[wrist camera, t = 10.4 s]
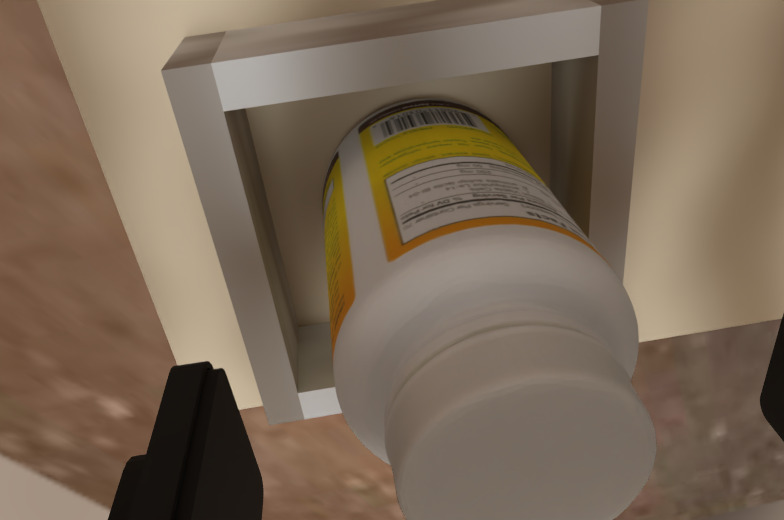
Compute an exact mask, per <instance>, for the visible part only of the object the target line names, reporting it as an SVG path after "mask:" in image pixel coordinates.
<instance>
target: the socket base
mask: <svg viewBox="0 0 784 520" xmlns="http://www.w3.org/2000/svg"><path fill="white" fill-rule="evenodd" d="M37 2H38V4H39V7H40V10H41V12H42V15H43V17H44V20H45V23H46V25H47V28H48V30H49V33H50V36H51V38H52V41H53V43H54V46H55V49H56V51H57V54H58V56H59V59H60V62H61V64H62V67H63V69H64V72H65V75H66V77H67V80H68V82H69V85H70V87H71V90H72V93H73V95H74V98H75V100H76V103H77V106H78V108H79V111H80V113H81V116H82V119H83V121H84V124H85V126H86V129H87V132H88V134H89V137H90V139H91V142H92V145H93V147H94V150H95V152H96V155H97V157H98V160H99V163H100V165H101V168H102V170H103V173H104V176H105V178H106V181H107V183H108V186H109V189H110V191H111V194H112V196H113V199H114V202H115V204H116V207H117V209H118V212H119V215H120V217H121V220H122V222H123V225H124V228H125V230H126V233H127V235H128V238H129V240H130V243H131V246H132V248H133V251H134V253H135V256H136V259H137V261H138V264H139V266H140V269H141V272H142V274H143V277H144V279H145V282H146V285H147V287H148V290H149V292H150V295H151V298H152V300H153V303H154V305H155V308H156V310H157V313H158V316H159V318H160V321H161V323H162V326H163V329H164V331H165V334H166V336H167V339H168V342H169V344H170V347H171V349H172V352H173V355H174V357H175V360H176V362H177V365H184V364H191V363H198V362H204V361H209V362H210V363H211V364H212V366H213V368H214V369H218V368H223V369H224V370H225V372H226V375H227V378H228V380H229V383H230V386H231V389H232V392H233V395H234V398H235V401H236V404H237V407H238V409H239V410H240V409H246V408H252V407H258V406H264V410H265V413H266V416H267V419H268V423H269V425H274V424H280V423H286V422H291V421H297V420H303V419H309V418H315V417H321V416H327V415H333V414H339V413H342V411H341V408H340V405H339V402H338V399H337V394H336V389H335V382H334V372H333V360H332V344H331V331H330V316H329V298H328V284H327V272H326V254H325V239H324V227H323V212H322V197H323V185H324V179H325V175H326V172H327V169H328V166H329V163H330V161H331V159H332V157H333V155H334V153H335V151H336V150H337V148H338V146H339V145H340V144H341V142H342V141H343V139H344V138H345V137H346V136H347V135H348V134H349V133H350V131H351V130H353V129H354V128H355V127H356V126H357V125H358V124H359V123H360V122H362V121H363V120H364V119H366V118H367V117H369V116H370V115H372V114H373V113H375V112H377V111H379V110H381V109H383V108H385V107H387V106H390V105H393V104H396V103H399V102H403V101H407V100H412V99H421V98H436V99H445V100H451V101H454V102H458V103H461V104H464V105H467V106H469V107H471V108H473V109H475V110H477V111H479V112H481V113H482V114H484V115H485V116H487V117H488V118H489V119H491V120H492V121H493V122H494V123H495V124H497V125H498V126H499V127H500V129H501V130H502V131H503V132H504V133H505V134H506V135H507V136H508V137H509V139H510V140H511V142H512V143H513V144H514V145H515V147H516V148H517V149H518V150H519V152H520V153H521V154H522V156H523V157H524V158H525V159H526V161H527V162H528V163H529V164H530V166H531V167H532V168H533V170H534V171H535V172H536V173H537V175H538V176H539V177H540V178H541V180H542V181H543V182H544V183H545V185H546V186H547V187H548V188H549V189H550V191H551V192H552V193H553V195H554V196H555V197H556V199H557V200H558V201H559V202H560V204H561V205H562V206H563V208H564V209H565V210H566V211H567V213H568V214H569V215H570V217H571V218H572V219H573V220H574V222H575V223H576V224H577V225H578V227H579V228H580V229H581V230H582V232H583V233H584V234H585V235H586V237H587V238H588V239H589V240H590V242H591V243H592V244H593V245H594V246H595V248H596V249H597V250H598V252H599V253H600V254H601V255H602V256H603V258H604V259H605V260H606V261H607V262H608V263H609V265H610V266H611V268H612V269H613V271H614V272H615V274H616V275H617V277H618V278H619V280H620V281H621V283H622V285H623V286H624V288H625V289H626V291H627V293H628V295H629V298H630V300H631V302H632V304H633V308H634V311H635V315H636V318H637V324H638V335H639V342H645V341H651V340H657V339H663V338H669V337H675V336H680V335H686V334H692V333H698V332H704V331H710V330H716V329H722V328H728V327H734V326H740V325H746V324H752V323H758V322H764V321H770V320H776V319H782V317H783V314H784V0H37Z"/></svg>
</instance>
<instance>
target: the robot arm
mask: <svg viewBox="0 0 784 520" xmlns="http://www.w3.org/2000/svg"><path fill="white" fill-rule="evenodd" d="M760 405H761V409H762V412H763V414H764V416H765V418H766V420H767V421H768V422H769V424H770V425H771V426H772V427H773V429H774V430H775V431H776V432H777V434H778V435H779V436H780V438H781V439H782V440H783V441H784V314H783V317H782V321H781V324H780V328H779V332H778V335H777V339H776V342H775V346H774V350H773V353H772V357H771V360H770V364H769V367H768V371H767V375H766V378H765V382H764V385H763V389H762V393H761V397H760ZM262 508H263V482H262V477H261V473H260V470H259V467H258V464H257V462H256V459H255V456H254V453H253V450H252V447H251V444H250V441H249V438H248V435H247V433H246V430H245V427H244V424H243V421H242V418H241V415H240V412H239V409H238V407H237V404H236V401H235V398H234V395H233V392H232V389H231V386H230V383H229V380H228V378H227V375H226V372H225V370H224V369H223V368H218V369H214V368H213V366H212V364H211V363H210V362H209V361H204V362H198V363H191V364H184V365H178V366H173V367H172V368H171V370H170V373H169V376H168V379H167V383H166V386H165V390H164V394H163V397H162V401H161V404H160V408H159V411H158V415H157V418H156V422H155V425H154V429H153V432H152V436H151V439H150V443H149V447H148V450H147V454H145V455H138V456H133V457H131V458H130V459H129V461H128V462H127V463H126V466H125V468H124V470H123V473H122V476H121V479H120V482H119V486H118V489H117V492H116V495H115V498H114V502H113V505H112V508H111V511H110V514H109V518H108V520H262Z"/></svg>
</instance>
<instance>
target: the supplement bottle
mask: <svg viewBox="0 0 784 520" xmlns="http://www.w3.org/2000/svg"><path fill="white" fill-rule="evenodd" d="M322 212H323V227H324V239H325V254H326V272H327V284H328V298H329V316H330V331H331V344H332V360H333V372H334V382H335V389H336V394H337V399H338V402H339V405H340V408H341V411H342V413H343V416H344V418H345V420H346V422H347V424H348V425H349V427H350V428H351V430H352V431H353V433H354V434H355V435H356V437H357V438H358V439H359V440H360V441H361V443H362V444H363V445H364V446H365V447H366V448H367V449H369V450H370V451H371V452H372V453H373V454H374V455H376V456H377V457H379V458H380V459H381V460H383V461H384V462H385V463H387V464H389V465H391V467H392V471H393V477H394V482H395V488H396V493H397V499H398V503H399V505H400V508H401V510H402V512H403V514H404V516H405V518H406V519H407V520H613V519H614V518H616V517H617V516H618V515H619V514H621V513H622V512H623V511H624V510H625V509H626V508H627V507H628V506H629V505H630V504H631V503H632V501H633V500H634V499H635V498H636V497H637V495H638V494H639V493H640V491H641V490H642V489H643V487H644V485H645V484H646V482H647V480H648V478H649V476H650V474H651V471H652V468H653V465H654V462H655V457H656V434H655V429H654V425H653V423H652V420H651V418H650V415H649V413H648V411H647V409H646V408H645V406H644V404H643V403H642V401H641V399H640V398H639V396H638V394H637V393H636V391H635V389H634V388H633V386H632V384H631V379H632V376H633V373H634V370H635V366H636V362H637V355H638V345H639V335H638V324H637V318H636V315H635V311H634V308H633V304H632V302H631V300H630V298H629V295H628V293H627V291H626V289H625V288H624V286H623V285H622V283H621V281H620V280H619V278H618V277H617V275H616V274H615V272H614V271H613V269H612V268H611V266H610V265H609V263H608V262H607V261H606V260H605V259H604V258H603V256H602V255H601V254H600V253H599V252H598V250H597V249H596V248H595V246H594V245H593V244H592V243H591V242H590V240H589V239H588V238H587V237H586V235H585V234H584V233H583V232H582V230H581V229H580V228H579V227H578V225H577V224H576V223H575V222H574V220H573V219H572V218H571V217H570V215H569V214H568V213H567V211H566V210H565V209H564V208H563V206H562V205H561V204H560V202H559V201H558V200H557V199H556V197H555V196H554V195H553V193H552V192H551V191H550V189H549V188H548V187H547V186H546V185H545V183H544V182H543V181H542V180H541V178H540V177H539V176H538V175H537V173H536V172H535V171H534V170H533V168H532V167H531V166H530V164H529V163H528V162H527V161H526V159H525V158H524V157H523V156H522V154H521V153H520V152H519V150H518V149H517V148H516V147H515V145H514V144H513V143H512V142H511V140H510V139H509V137H508V136H507V135H506V134H505V133H504V132H503V131H502V130H501V129H500V127H499V126H498V125H497V124H495V123H494V122H493V121H492V120H491V119H489V118H488V117H487V116H485V115H484V114H482V113H481V112H479V111H477V110H475V109H473V108H471V107H469V106H467V105H464V104H461V103H458V102H454V101H451V100H445V99H436V98H421V99H412V100H407V101H403V102H399V103H396V104H393V105H390V106H387V107H385V108H383V109H381V110H379V111H377V112H375V113H373V114H372V115H370V116H369V117H367V118H366V119H364V120H363V121H362V122H360V123H359V124H358V125H357V126H356V127H355V128H354V129H353V130H351V131H350V133H349V134H348V135H347V136H346V137H345V138H344V139H343V141H342V142H341V144H340V145H339V146H338V148H337V150H336V151H335V153H334V155H333V157H332V159H331V161H330V163H329V166H328V169H327V172H326V175H325V179H324V185H323V197H322Z"/></svg>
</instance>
